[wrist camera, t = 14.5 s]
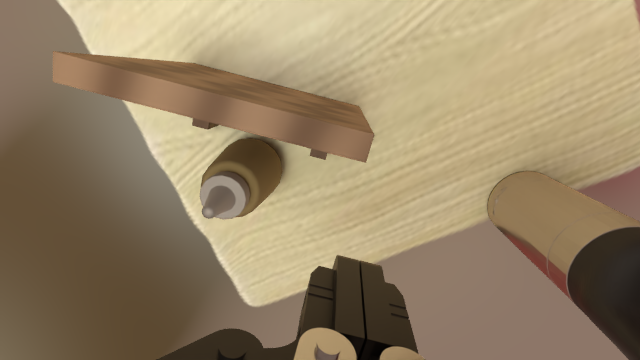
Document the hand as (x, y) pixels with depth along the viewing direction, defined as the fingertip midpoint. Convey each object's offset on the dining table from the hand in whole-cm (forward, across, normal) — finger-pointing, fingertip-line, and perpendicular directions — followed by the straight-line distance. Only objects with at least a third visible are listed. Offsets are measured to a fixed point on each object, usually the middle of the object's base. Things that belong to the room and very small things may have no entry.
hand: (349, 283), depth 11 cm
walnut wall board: (+35, +10, 0) cm, 36 cm away
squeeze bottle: (+35, +11, +7) cm, 37 cm away
